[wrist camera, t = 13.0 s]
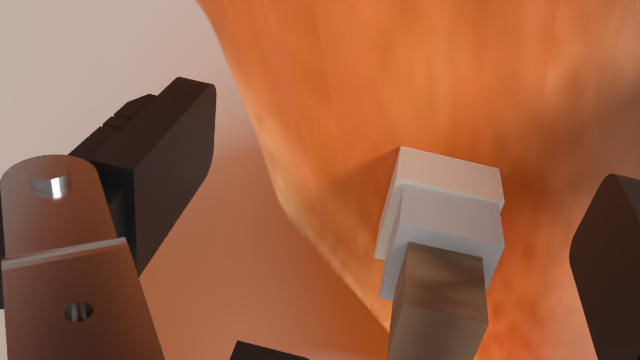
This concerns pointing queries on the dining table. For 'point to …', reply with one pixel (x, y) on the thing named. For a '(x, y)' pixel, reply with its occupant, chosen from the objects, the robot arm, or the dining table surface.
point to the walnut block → (438, 306)
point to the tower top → (442, 230)
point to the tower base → (436, 184)
